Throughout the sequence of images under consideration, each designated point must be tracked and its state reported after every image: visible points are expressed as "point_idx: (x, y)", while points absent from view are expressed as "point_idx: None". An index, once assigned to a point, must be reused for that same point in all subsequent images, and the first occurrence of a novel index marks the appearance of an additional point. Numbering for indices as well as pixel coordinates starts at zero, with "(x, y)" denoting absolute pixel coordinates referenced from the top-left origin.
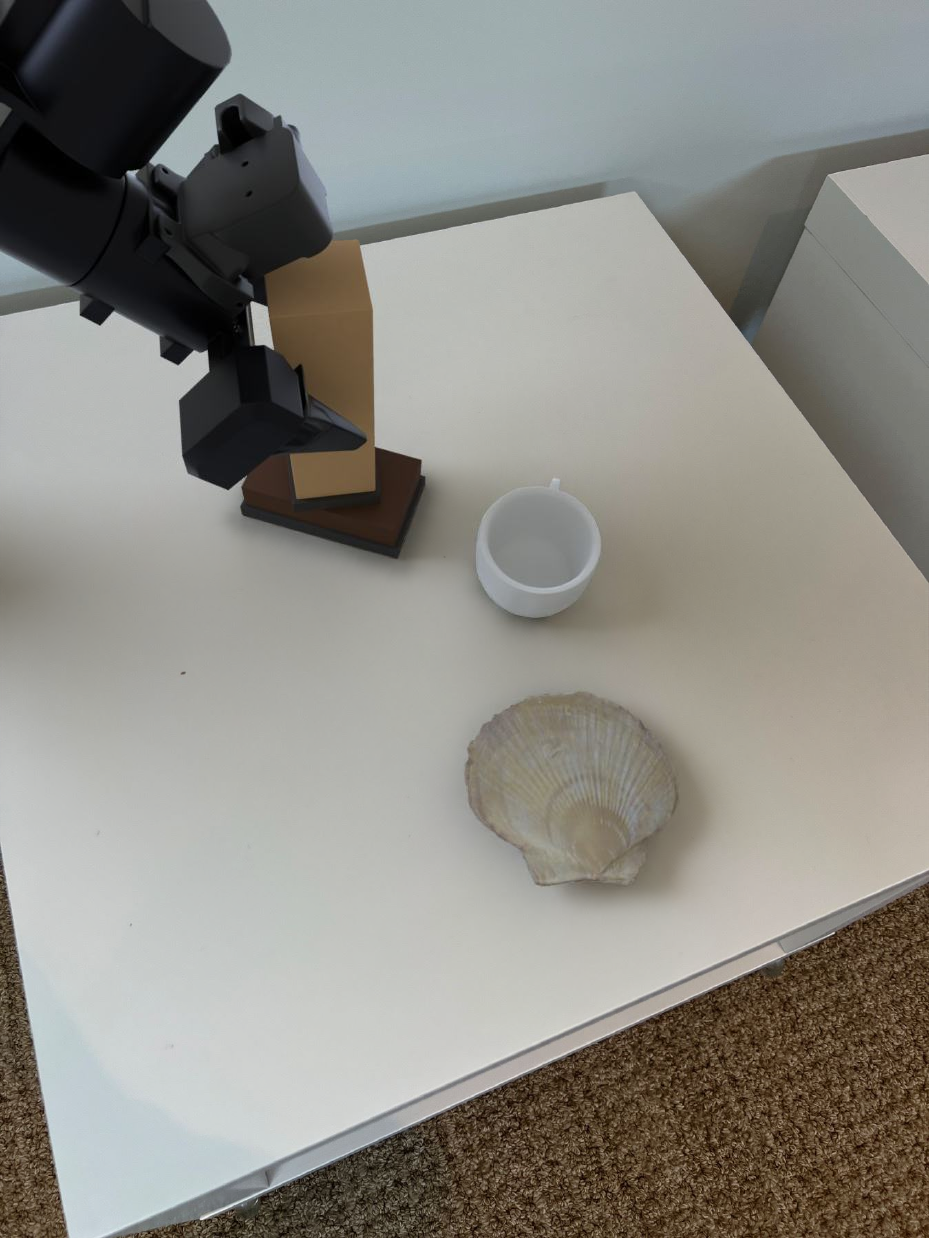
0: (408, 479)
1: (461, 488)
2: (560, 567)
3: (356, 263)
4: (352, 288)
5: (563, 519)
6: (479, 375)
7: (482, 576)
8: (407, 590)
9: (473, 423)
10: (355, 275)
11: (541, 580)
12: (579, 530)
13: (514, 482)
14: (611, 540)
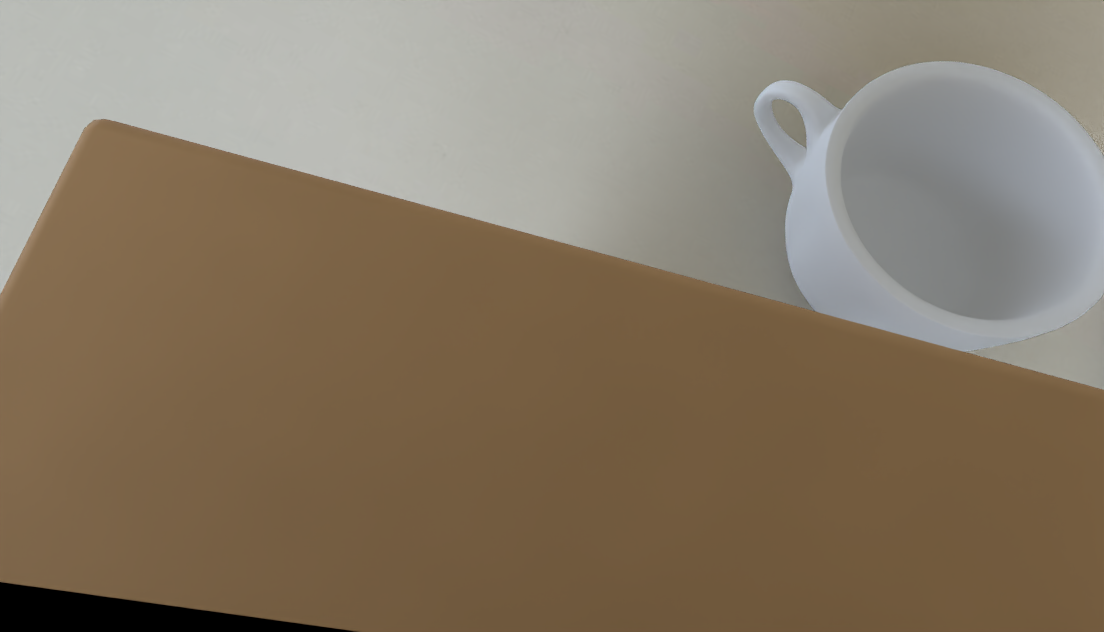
0: None
1: None
2: (884, 188)
3: (550, 338)
4: (1057, 626)
5: (868, 125)
6: (350, 109)
7: None
8: None
9: (465, 179)
10: (797, 460)
11: (894, 236)
12: (921, 108)
13: (640, 173)
14: (833, 75)
